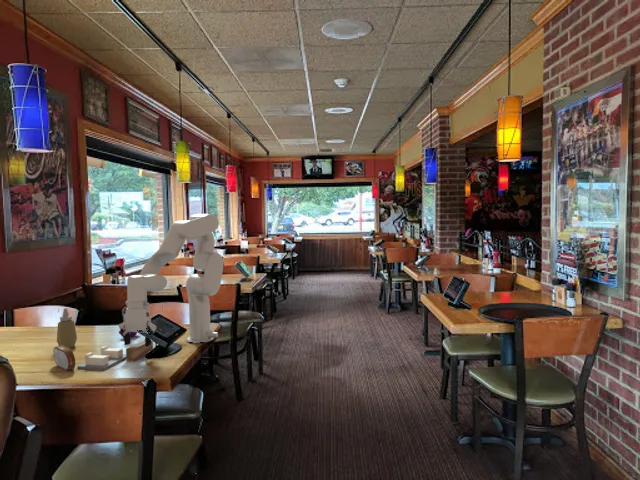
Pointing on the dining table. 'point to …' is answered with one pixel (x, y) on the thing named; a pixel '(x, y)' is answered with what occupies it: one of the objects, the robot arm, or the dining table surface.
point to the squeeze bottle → (66, 331)
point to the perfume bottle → (124, 325)
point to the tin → (64, 357)
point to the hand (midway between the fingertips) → (137, 345)
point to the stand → (103, 359)
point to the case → (137, 351)
